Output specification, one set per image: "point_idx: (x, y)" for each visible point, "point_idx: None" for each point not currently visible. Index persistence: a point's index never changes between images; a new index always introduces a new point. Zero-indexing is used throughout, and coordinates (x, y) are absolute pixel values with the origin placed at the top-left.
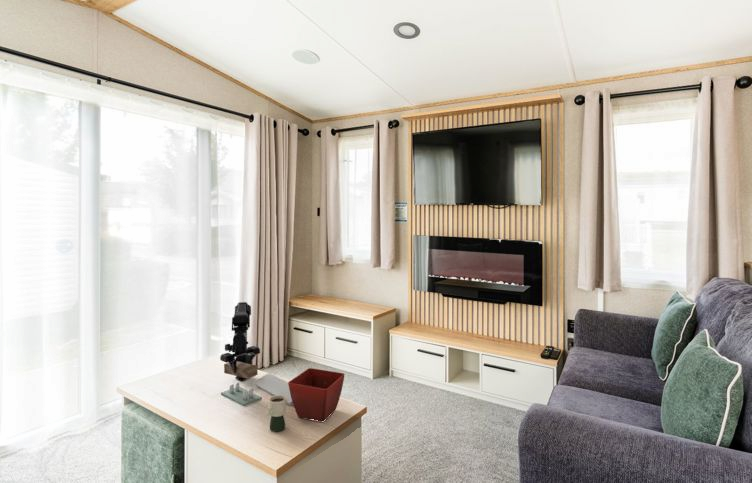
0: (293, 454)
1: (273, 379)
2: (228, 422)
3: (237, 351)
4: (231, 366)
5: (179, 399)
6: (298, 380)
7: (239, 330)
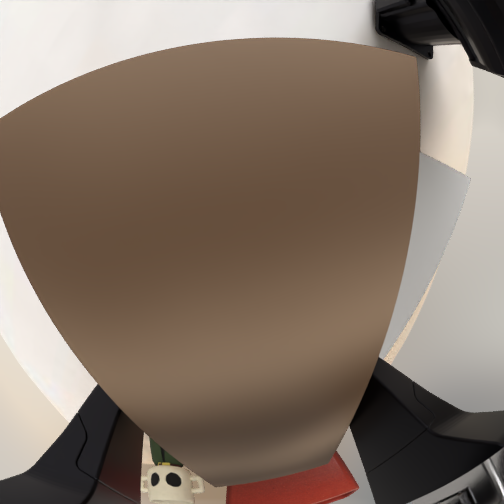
0: (147, 463)
1: (423, 254)
2: (67, 361)
3: None
4: (81, 424)
5: (6, 6)
6: (280, 500)
7: None
